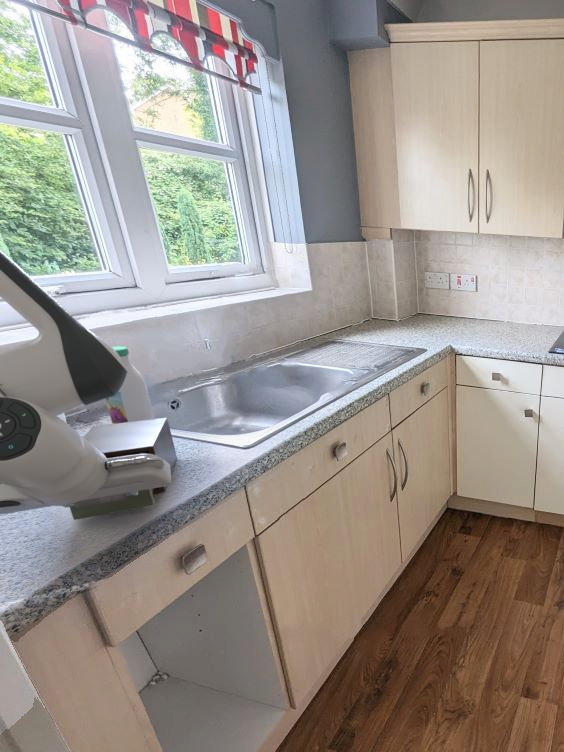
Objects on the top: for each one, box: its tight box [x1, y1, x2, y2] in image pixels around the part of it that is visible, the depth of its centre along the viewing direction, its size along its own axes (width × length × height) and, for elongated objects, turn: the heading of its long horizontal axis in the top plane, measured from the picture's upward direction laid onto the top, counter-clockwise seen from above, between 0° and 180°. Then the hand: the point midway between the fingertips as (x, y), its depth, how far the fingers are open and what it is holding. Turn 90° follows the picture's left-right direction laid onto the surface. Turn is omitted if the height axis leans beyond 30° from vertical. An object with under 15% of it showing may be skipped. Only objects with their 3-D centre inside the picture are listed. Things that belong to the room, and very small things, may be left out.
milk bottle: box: [104, 346, 156, 424], centre depth 106 cm, size 8×8×20 cm
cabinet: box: [83, 417, 178, 495], centre depth 87 cm, size 15×12×10 cm
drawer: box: [69, 451, 156, 521], centre depth 79 cm, size 18×10×8 cm, turn 29°
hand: (103, 496), depth 73 cm, fingers closed on drawer, 6 cm apart
